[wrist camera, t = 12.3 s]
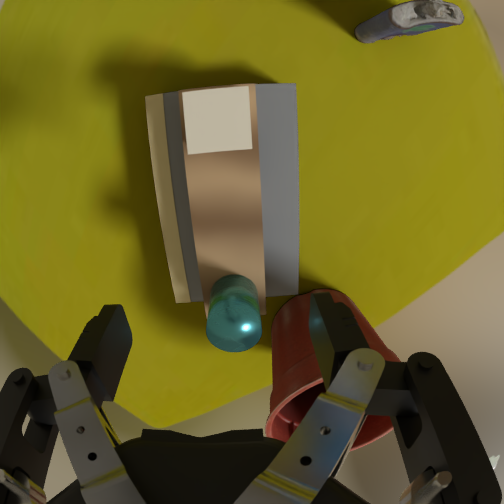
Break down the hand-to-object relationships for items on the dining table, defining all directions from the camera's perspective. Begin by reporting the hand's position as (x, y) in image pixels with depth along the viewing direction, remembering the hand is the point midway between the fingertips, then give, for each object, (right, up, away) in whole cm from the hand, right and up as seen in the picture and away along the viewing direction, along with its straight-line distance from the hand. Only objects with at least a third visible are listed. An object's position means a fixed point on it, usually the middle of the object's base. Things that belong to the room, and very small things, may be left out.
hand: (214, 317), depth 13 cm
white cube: (-1, +12, +8) cm, 15 cm away
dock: (-1, +9, +20) cm, 22 cm away
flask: (+16, +27, +12) cm, 34 cm away
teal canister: (0, -1, +15) cm, 15 cm away
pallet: (-1, +7, +15) cm, 17 cm away
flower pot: (+10, -7, +29) cm, 31 cm away
